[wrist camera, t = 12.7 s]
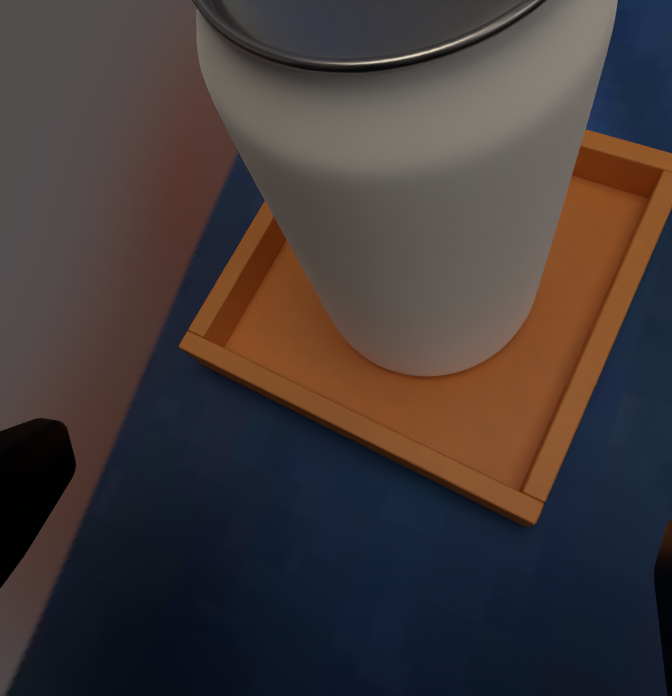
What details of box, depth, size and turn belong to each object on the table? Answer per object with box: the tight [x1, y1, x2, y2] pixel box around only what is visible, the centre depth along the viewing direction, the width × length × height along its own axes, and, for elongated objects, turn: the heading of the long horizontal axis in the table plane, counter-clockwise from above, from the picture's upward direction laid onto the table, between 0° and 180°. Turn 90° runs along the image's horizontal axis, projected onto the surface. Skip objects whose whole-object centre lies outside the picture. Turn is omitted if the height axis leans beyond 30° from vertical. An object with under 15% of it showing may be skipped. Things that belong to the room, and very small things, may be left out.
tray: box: [179, 129, 672, 527], centre depth 18 cm, size 11×11×2 cm
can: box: [193, 0, 618, 376], centre depth 13 cm, size 6×6×12 cm
